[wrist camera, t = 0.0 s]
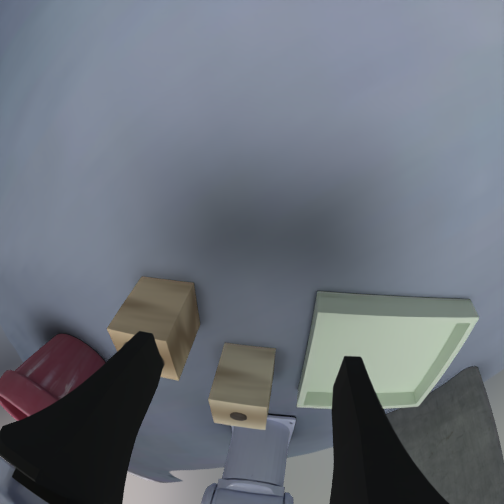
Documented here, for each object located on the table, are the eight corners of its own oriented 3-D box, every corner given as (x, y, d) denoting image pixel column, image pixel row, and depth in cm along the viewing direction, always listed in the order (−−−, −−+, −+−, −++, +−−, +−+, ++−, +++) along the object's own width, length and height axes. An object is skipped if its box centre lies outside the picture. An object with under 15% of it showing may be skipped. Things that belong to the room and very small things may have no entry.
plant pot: (27, 302, 29) (-28, 374, 19) (115, 339, 29) (62, 437, 18) (59, 367, 37) (23, 428, 26) (135, 400, 37) (103, 474, 26)
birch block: (273, 376, 27) (265, 431, 22) (227, 370, 28) (213, 423, 23) (275, 348, 25) (267, 408, 20) (224, 342, 26) (208, 399, 21)
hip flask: (473, 362, 23) (508, 532, 7) (483, 374, 24) (514, 525, 8) (361, 423, 31) (357, 567, 15) (378, 430, 32) (378, 563, 16)
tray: (415, 390, 26) (418, 406, 25) (297, 389, 28) (296, 407, 26) (469, 299, 19) (479, 317, 17) (317, 291, 21) (318, 312, 19)
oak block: (200, 323, 25) (178, 381, 20) (152, 316, 25) (125, 368, 20) (193, 282, 22) (165, 342, 17) (141, 276, 23) (106, 329, 18)
